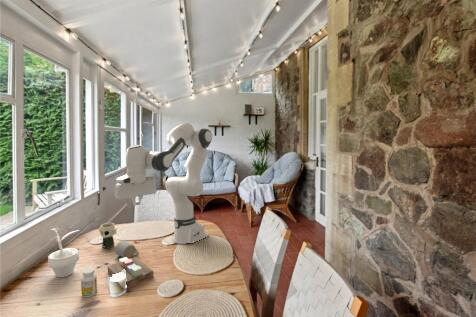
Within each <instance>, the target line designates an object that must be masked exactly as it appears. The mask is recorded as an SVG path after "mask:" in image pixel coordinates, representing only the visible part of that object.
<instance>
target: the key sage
mask: <svg viewBox="0 0 476 317" xmlns="http://www.w3.org/2000/svg"><path fill="white" fill-rule="evenodd" d="M131 275H132V276H133V277H134V278H135V277H137V276H140V275H142V268H141V267H140V266H139V265H138V266H135V267H133V268H131Z"/></svg>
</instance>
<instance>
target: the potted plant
mask: <svg viewBox="0 0 476 317" xmlns="http://www.w3.org/2000/svg"><path fill="white" fill-rule="evenodd" d="M60 229H61V228H60V227H58V225H56V227H54V228H50V230H49V231H53V232H54V233H55V234H54V236H53V238H54V239H55V241H56V242H57V244H58V248H59V250H56V251H54V252H51V253H50V254H49V255H48V256H47V260H48V264H47V265H48V267H49V268H50V269H52V271H53V273H54V275H55V277H57V278H65V277H68V276H71V275H72V273H73V272H74V270H75V267H76V264H77V262H78V261H79V260H80V251H79V250H78V248H74V247H67V248H63V243H62V241H63V240H65V239H66V238H68V237H69V236H71V235H72V234H74V233H77V232H80V231H81V229H78V230H73V231H69V232H68V233H66V234H65V235H63V236H61V235H59V230H60Z"/></svg>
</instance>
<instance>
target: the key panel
mask: <svg viewBox="0 0 476 317" xmlns="http://www.w3.org/2000/svg"><path fill="white" fill-rule="evenodd" d="M129 259H131V260H133V264H135V265H137V266H138V265H139V266H140V267H141V268H142V275H140V276H137V277H135V278H134V277H133V276H132V275H131V273H130V274H129V273H128V272H127V270H126V275H127V281H126V285H127V289H129V288H132V287H134V286H136V285H138V284H141V283H144V282H147V281H149V280H151V279H153V278H154V270H153V269H152V268H150V267H149V266H148V265H146V264H145V263H144V262H143V261H141V260H140V259H139V258H138V257H136V256H134V257H133V256H132V257H131V258H129ZM123 269H124V268H123V266H121V265H120V264H119V261H118V262H116V263H112V264H110V265H107V273H108V274H109V276H111V275H112V274H116V273H119V272H121V271H122V270H123Z"/></svg>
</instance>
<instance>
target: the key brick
mask: <svg viewBox="0 0 476 317" xmlns="http://www.w3.org/2000/svg"><path fill="white" fill-rule="evenodd" d="M131 264H133V260H131V259H130V258H128V259H127V260H124V261H123V268H124V269H125V270H127V266H129V265H131Z"/></svg>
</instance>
